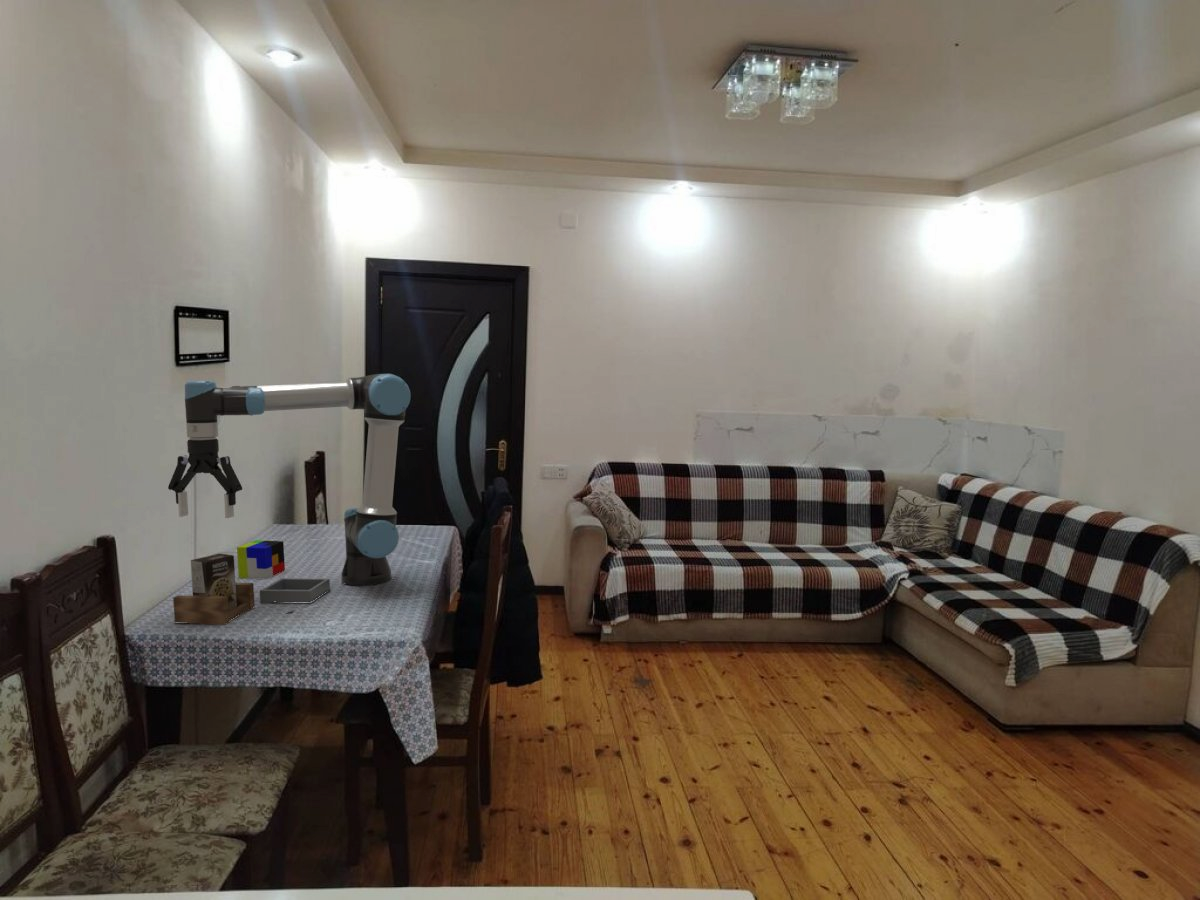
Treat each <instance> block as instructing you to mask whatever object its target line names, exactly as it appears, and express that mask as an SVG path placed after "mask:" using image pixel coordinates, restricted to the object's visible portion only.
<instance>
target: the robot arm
mask: <svg viewBox="0 0 1200 900" xmlns="http://www.w3.org/2000/svg"><path fill="white" fill-rule="evenodd" d="M411 395H412V394H411V390H410V388H409V385H408V384H407V383H406V381H405V380H404V379H402V378H401V377H400V376H398V375H395V374H392V373H374V374H371V375H370V374H369V375H365V376H359V377H348V378H347V379H346V380H344V381H330V382H329V381H327V382H326V381H325V382H310V383H309V382H307V383H306V382H305V383H287V384H286V383H285V384H284V383H283V384H267V385H266V384H265V385H264V384H263V385H262V384H261V385H246V386H245V385H244V386H241V385H233V386H231V387H217V384H216V381H214V380H189V381H187V382H185V384H184V405H185V406H184V407H185V421H186V422H185V423H186V436H187V438H188V440H187V441H186V443H187V444H186V446H187V453H188V455H179V456H177V462H176V463H177V465H176V467H175V469H174V472H173V473H172V476H171V479H170V482H169V483H168V486H167V489H168V490H170V491H173V492H175V502H176V505H178V516H179V518H181V517H186V516H188V515H189V504H188V491H187V490H186V488H187V487H188V485H189V484H190V483H191V481H193V478H195V476H196V474H201V473H202V474H210V475H211V476H213V478H215V480H216V482H218V483H219V485H220V486H221V487H222V488H223V489H224V491H225V492H226V493H224V499H223V500H224V515H225V517H224V518H225V519H229V518H234V516H235V512H234V506H236V504H237V499H236V497H237V495H236V493H238V492H240V491H242V490H243V485H242V484H241V482H240V480H239V478H238V475H236V472H235V469H234V468H233V466H232V464H231V458H230V456H228V455H226V456H220V457H219V451H220V449H219V446H220V445H219V439H218V438H217V437H218V436H219V425H218V424H219V423H218V416H222V417H223V416H251V417H252V416H255V415H256V416H257V415H258V416H259V415H263V414H264V413H265V412H270V411H271V412H274V411H285V410H286V411H292V410H307V409H308V410H309V409H311V410H312V409H324V408H326V409H327V408H329V409H330V408H345V407H346V408H348V409H349V410H364V413H363V415H364V416H363V419H364V421H365V422H366V423H367V424H368V429H367V430H368V433H367V441H366V442H367V443H366V456H365V467H364V480H363V492H362V493H363V494H362V503H361V505H360V506H359V507H355V508H354V507H353V508H352V507H351V508H347V509H346V510H345V511H344V518H343V521H344V534H345V535H344V536H345V537H344V538H345V539H344V540H345V560H344V564H343V568H342V570H341V575H340V576H341V577H340V578H341V583H342V582H343V583H342V584H344V583H345V584H344V585H347V584H349V585H348V586H354V585H364V586H372V585H377V584H383V583H386V582H387V581H390V580H391V579H392V569H391V567H390V564H389V561H388V559H387V556H389V555H391V554H392V553H394V551H395V550H396V548H397V547H398V544H399V541H400V540H399V538H400V537H399V532H398V531H399V530H398V529H397V527H396V526H397V515H398V512H397V511H396V509H395V508H394V507H393V500H394V499H393V498H394V488H395V487H394V485H395V477H396V475H395V474H396V464H397V463H396V462H397V453H398V451H397V450H398V441H399V440H398V439H399V427H400V426H401V425H403V423H404V422H405V418H406V417H405V416H406V409H407V408H408V406H409V404H410V402H411ZM188 464H189V465H190V466H189V467H188V468H187V466H188ZM219 465H220V466H221V467H220V466H219ZM186 469H187V470H186ZM185 471H186V472H185ZM222 471H223V472H222Z"/></svg>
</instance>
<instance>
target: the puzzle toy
mask: <svg viewBox="0 0 1200 900" xmlns="http://www.w3.org/2000/svg"><path fill="white" fill-rule="evenodd" d="M236 551H237V552H236V554H237V556H236V557H237V568H238V569H237V571H238V579H240V578H241V579H257V578H264V579H263V580H266V579H265V578H268V579H270V578H272V577H274V576H273V575H275V574H277V573H279V572H281V573H283V572H282V571H284V570H285V571H286V566H285V565H286V563H285V546H284V541H283V540H262V539H261V540H259V539H258V540H257V539H255V540H253V541H250V542H248V543H245V544H242V545H239V546H237V547H236ZM285 571H284V572H285ZM279 574H280V573H279ZM277 575H278V574H277ZM271 576H272V577H271ZM275 576H276V575H275ZM269 577H270V578H269Z"/></svg>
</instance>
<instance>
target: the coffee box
mask: <svg viewBox="0 0 1200 900" xmlns="http://www.w3.org/2000/svg"><path fill="white" fill-rule="evenodd" d="M190 569H191V571H190V573H191V587H192V591H191V592H192V596H228V605H229V611H231V610H233V609H234V608H236V607H237V602H236V585H235V583H236V570H235V569H236V567H235V556H234V555H233V554H229V553H228V554H224V553H217V554H212V555H206V556H203V557H199V558H194V559H190Z"/></svg>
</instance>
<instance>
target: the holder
mask: <svg viewBox="0 0 1200 900" xmlns="http://www.w3.org/2000/svg"><path fill="white" fill-rule="evenodd" d="M235 585H236V602H237V607H236V608H234V609H233V610H231V611H229V605H228V596H193V595H176V596H174V597H173V599H172V602H173V612H174V615H173V616H174V623H175V622H187V623H202V624H201V625H227V624H229V623H230V622H231V621H232V620H231V619H233V618H234V619H236V618H237V617H236V616H238V615H239V616H241V615H242V614H241V613H243V612H245V611H246V612H248V611H249V610H248V609H250V610H252V609H254V608H255V607H256V604H255V589H254V582H235ZM254 606H255V607H254ZM253 607H254V608H253ZM251 608H252V609H251ZM247 610H248V611H247ZM246 612H245V613H246ZM240 614H241V615H240ZM243 614H244V613H243ZM239 616H238V617H239ZM235 617H236V618H235ZM234 619H233V620H234ZM230 620H231V621H230ZM229 621H230V622H229ZM228 622H229V623H228ZM226 623H227V624H226Z"/></svg>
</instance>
